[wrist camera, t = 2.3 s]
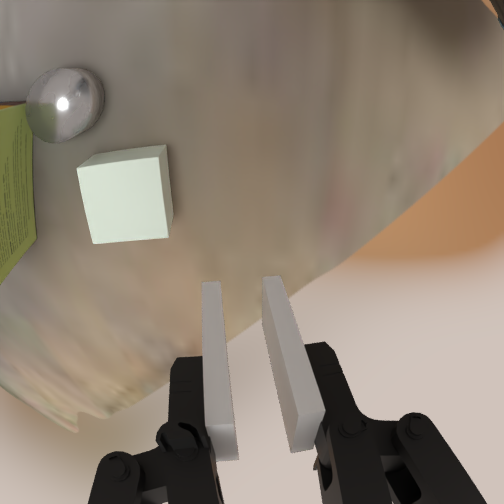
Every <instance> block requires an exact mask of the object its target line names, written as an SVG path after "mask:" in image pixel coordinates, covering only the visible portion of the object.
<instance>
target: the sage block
mask: <svg viewBox="0 0 504 504" xmlns="http://www.w3.org/2000/svg"><path fill="white" fill-rule="evenodd" d="M77 173H78V179H79V184H80V189H81V194H82V198H83V203H84V208H85V212H86V216H87V221H88V225H89V229H90V233H91V237H92V241H93V244H100V243H111V242H122V241H134V240H146V239H158V238H169V234H170V229H171V225H172V220H173V216H174V212H173V204H172V196H171V187H170V178H169V168H168V158H167V147H166V145H157V146H148V147H140V148H132V149H125V150H118V151H111V152H104V153H98V154H94V155H93V156H92V157H90V158H89V159H88V160H87V161H85V162H84V163H83V164H81V165H80V166H79V167H78V168H77Z"/></svg>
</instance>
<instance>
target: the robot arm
mask: <svg viewBox="0 0 504 504" xmlns="http://www.w3.org/2000/svg"><path fill="white" fill-rule="evenodd" d="M490 1H491V3H492V5H493V7H494V9H495V11H496V12H497V14H498V20H499V23H500V25H501V27H502V28H503V29H504V0H490ZM262 326H263V331H264V335H265V340H266V344H267V349H268V353H269V358H270V362H271V367H272V371H273V376H274V380H275V385H276V389H277V394H278V398H279V403H280V407H281V412H282V416H283V420H284V425H285V429H286V434H287V438H288V442H289V447H290V451H291V453H295V452H301V451H306V450H311V449H313V447H314V444H315V446H316V449H317V453H318V455H317V458H316V460H315V463H314V468H313V470H318V476H319V483H320V489H321V496H322V503H323V504H392V502H393V503H394V504H487V503H486V501H485V500H484V498H483V497H482V495H481V494H480V492H479V491H478V489H477V487H476V486H475V484H474V483H473V481H472V480H471V478H470V477H469V475H468V474H467V472H466V471H465V469H464V468H463V466H462V465H461V463H460V462H459V460H458V459H457V457H456V456H455V454H454V453H453V451H452V450H451V448H450V447H449V445H448V444H447V442H446V441H445V440H444V438H443V437H442V435H441V434H440V432H439V431H438V429H437V428H436V427H435V425H434V424H433V423H432V421H431V420H430V419H429V418H428V417H427V416H425V415H423V414H421V413H414V412H413V413H409V414H406V415H404V416H403V417H402V418H400V420H399V421H382V420H374V419H371V418H368V417H367V416H365V415H363V414H362V413H361V412H360V410H359V409H358V407H357V406H356V404H355V401H354V398H353V396H352V393H351V391H350V388H349V386H348V383H347V381H346V378H345V376H344V374H343V371H342V368H341V366H340V365H339V361H338V359H337V356H336V354H335V351H334V350H333V349H332V348H331V347H330V346H329V345H328V344H327V343H326V342H319V343H312V344H305V345H304V343H303V341H302V338H301V335H300V332H299V329H298V326H297V323H296V320H295V317H294V314H293V311H292V309H291V305H290V302H289V299H288V296H287V293H286V291H285V288H284V285H283V282H282V279H281V276H269V277H262ZM202 349H203V356H196V357H179V358H177V359H176V360H175V362H174V364H173V366H172V367H171V371H170V390H169V391H170V394H169V412H168V414H169V415H168V422H166V423H165V424H163V425H162V426H161V427H160V429H159V430H158V432H157V435H156V442H157V444H158V445H159V446H158V447H156V448H155V449H152V450H150V451H147V452H143V453H140V454H137V455H133V456H132V455H130V454H128V453H125V452H119V451H115V452H112V453H109V454H107V455H106V456H104V457H103V458H102V459H101V461H100V463H99V465H98V468H97V471H96V475H95V479H94V483H93V486H92V490H91V493H90V497H89V501H88V504H162V503H164V502H168V504H224V500H223V496H222V491H221V487H220V481H219V476H218V473H217V467H216V462H218V461H230V460H239V454H238V446H237V438H236V430H235V421H234V413H233V403H232V394H231V386H230V375H229V366H228V355H227V345H226V335H225V324H224V314H223V304H222V294H221V283H220V281H211V282H202Z"/></svg>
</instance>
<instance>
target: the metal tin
mask: <svg viewBox="0 0 504 504" xmlns="http://www.w3.org/2000/svg"><path fill="white" fill-rule="evenodd" d="M104 101H105V94H104V89H103V86H102V83H101V81H100V80H99V78H98V77H97V76H96V75H95V74H94V73H92V72H91V71H88V70H86V69H81V68H58V69H53V70H50V71H48V72H46V73H44V74H43V75H42V76H40V77H39V78H38V79H37V80H36V81H35V83H34V84H33V86H32V87H31V89H30V91H29V93H28V96H27V100H26V106H25V113H26V119H27V122H28V125H29V127H30V129H31V130H32V132H33V133H34V134H35V135H36V136H37V137H38V138H40V139H41V140H43V141H45V142H49V143H60V142H64V141H66V140H69V139H71V138H72V137H74V136H76V135H78V134H80V133H82V132H84V131H86V130H88V129H89V128H90V127H92V126H93V125H94V124H95V123H96V121H97V120H98V119H99V117H100V115H101V113H102V110H103V107H104Z"/></svg>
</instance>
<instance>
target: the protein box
mask: <svg viewBox="0 0 504 504" xmlns="http://www.w3.org/2000/svg"><path fill="white" fill-rule="evenodd" d="M25 106H26V101H20V102H0V285H1V283H2V282H3V281H4V279H5V278H6V277H7V275H8V274H9V273H10V271H11V270H12V269H13V267H14V266H15V265H16V264H17V262H18V261H19V260H20V258H21V257H22V256H23V255H24V253H25V252H26V251H27V250H28V249H29V247H30V246H31V245H32V244H33V243H34V242H35V240H36V239H37V236H36V226H35V216H34V201H33V178H32V142H33V132H32V130H31V129H30V127H29V125H28V122H27V119H26V113H25Z"/></svg>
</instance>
